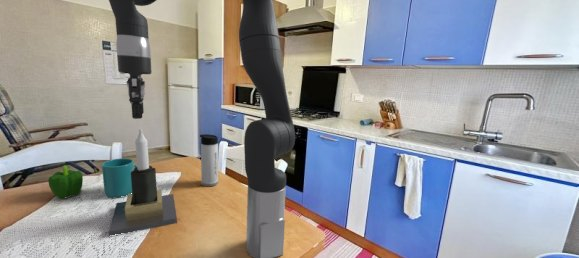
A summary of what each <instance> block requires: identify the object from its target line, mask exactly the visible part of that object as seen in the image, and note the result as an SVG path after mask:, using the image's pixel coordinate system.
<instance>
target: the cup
mask: <svg viewBox="0 0 579 258" xmlns="http://www.w3.org/2000/svg"><path fill="white" fill-rule="evenodd" d="M136 167H137V164H135V161H134V159H132V158H128V157H127V158H125V157H124V158H112V159H109V160H107V161H104V162H102V164H101V170H102V171H101V172H102V173H101V174H102V180H103V181H102V182H103V191H104V196H105V197H106V198H109V197H119V198H122V197H121V196H124V197H127V196H128V194H131V193H132V183H131V172H132V171H134V168H136ZM126 195H127V196H126Z"/></svg>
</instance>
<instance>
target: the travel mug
mask: <svg viewBox="0 0 579 258" xmlns="http://www.w3.org/2000/svg"><path fill="white" fill-rule="evenodd" d="M199 138H201V139H200V141H201V142H200V156H201V157H200V158H201V160H200V161H201V162H200V163H201V166H200V167H201V168H200V169H201V185H202V186H203V187H214V186H217V185H218V183H219V138H218V136H217V135H215V134H200V135H199Z"/></svg>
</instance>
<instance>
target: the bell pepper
mask: <svg viewBox="0 0 579 258" xmlns="http://www.w3.org/2000/svg"><path fill="white" fill-rule="evenodd" d="M62 170H63V171H56V172H55V173H53V174H52V175H51V176H49V178H48V187H49V188H50V190H51V193H52V194H53V196H54V197H56V198H57V199H59V198H60V199H66V198H65V197H68V198H69V197H74V196H73V195H75V196H77V195H76V194H78V193H79V194H80V193H81V192H82V188H83V184H84V183H83V180H84V179H83V178H84V177H83V173H82V171H81V170H72V169H68V166H67V165H66V164H65V165H63V166H62ZM79 194H78V195H79Z"/></svg>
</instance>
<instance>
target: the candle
mask: <svg viewBox="0 0 579 258" xmlns="http://www.w3.org/2000/svg"><path fill="white" fill-rule="evenodd" d="M148 144H149V143H148V139H147V138H146V137H145V135H144V132H143V129H142V128H140V129H139V130H138V135H137V138H135V155H136V165H137V167H136V168H135V167H134V171H132V172H131V183H132V196H133V205H136V204H142V203H148V202H154V201H157V190H158V189H157V174H156V173H157V172H156V168H155V167H153V166H152V165H149V164H150V160H149V147H148Z"/></svg>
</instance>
